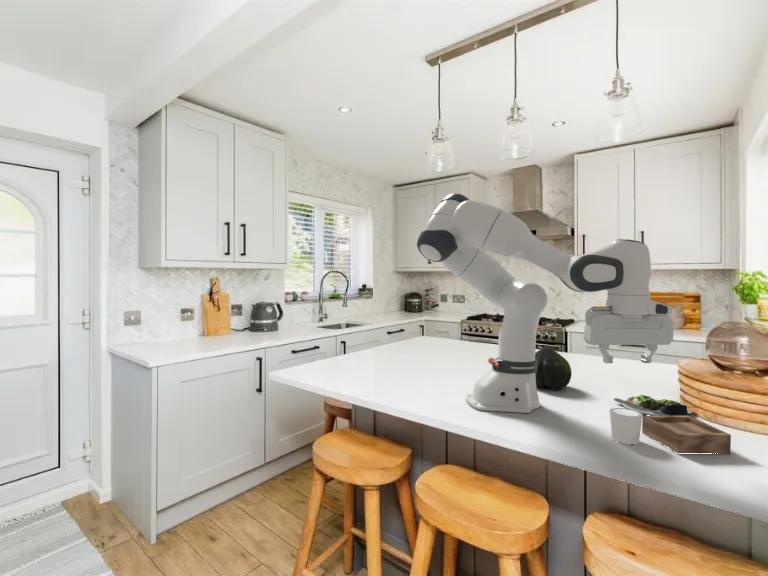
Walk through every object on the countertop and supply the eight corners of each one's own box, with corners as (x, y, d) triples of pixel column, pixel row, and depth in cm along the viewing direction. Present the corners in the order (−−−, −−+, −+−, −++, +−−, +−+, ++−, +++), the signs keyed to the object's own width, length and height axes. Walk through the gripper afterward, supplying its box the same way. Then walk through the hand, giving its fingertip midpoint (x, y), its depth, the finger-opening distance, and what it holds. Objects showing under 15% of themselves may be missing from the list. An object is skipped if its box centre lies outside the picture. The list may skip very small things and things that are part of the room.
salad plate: (606, 410, 118) (607, 395, 118) (621, 397, 131) (621, 383, 131) (687, 428, 105) (688, 411, 105) (694, 411, 118) (695, 396, 118)
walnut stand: (678, 454, 88) (678, 435, 88) (642, 433, 100) (642, 415, 100) (730, 454, 89) (730, 434, 89) (688, 432, 101) (688, 415, 101)
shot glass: (626, 447, 92) (626, 418, 92) (602, 436, 99) (603, 408, 98) (648, 444, 94) (649, 415, 94) (624, 433, 101) (624, 406, 100)
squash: (554, 380, 130) (567, 343, 136) (514, 373, 142) (528, 339, 148) (569, 402, 137) (581, 366, 143) (530, 394, 148) (543, 360, 155)
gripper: (593, 307, 92) (591, 366, 92) (678, 307, 92) (677, 365, 93) (579, 305, 98) (578, 360, 99) (659, 305, 99) (658, 359, 99)
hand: (626, 362), depth 96 cm, fingers open, 8 cm apart
